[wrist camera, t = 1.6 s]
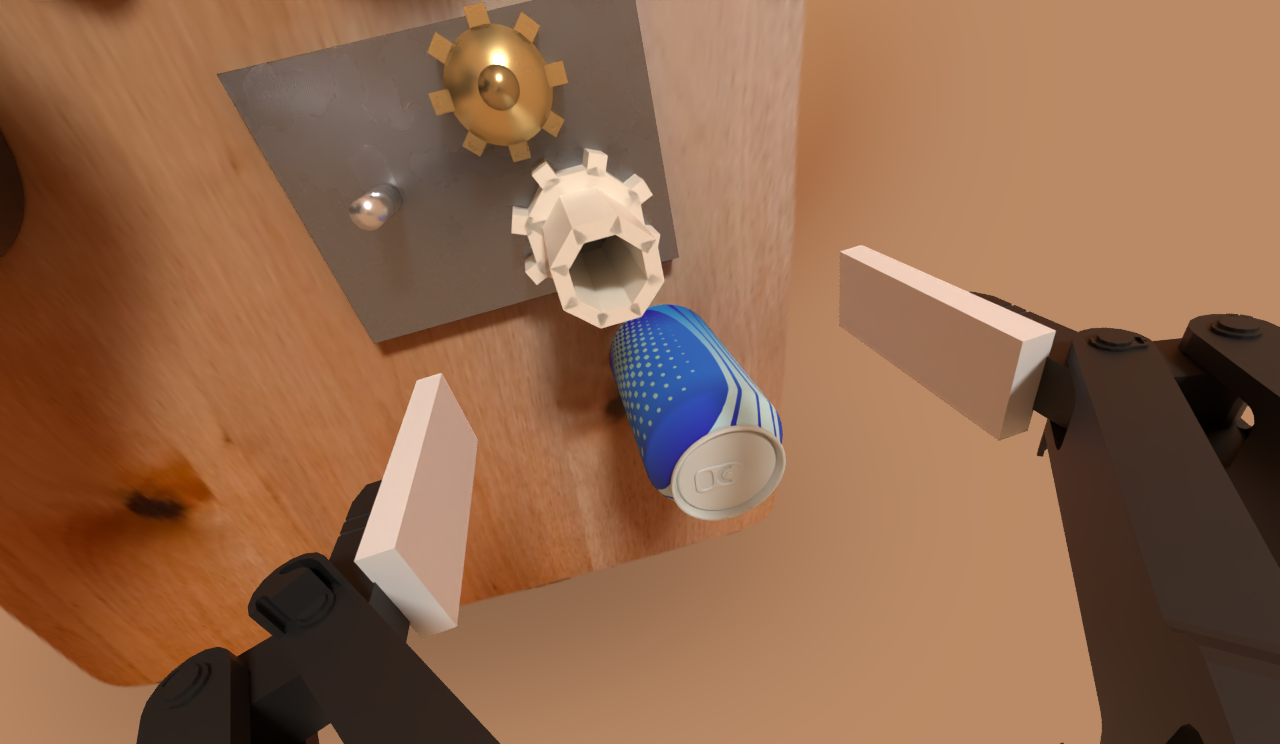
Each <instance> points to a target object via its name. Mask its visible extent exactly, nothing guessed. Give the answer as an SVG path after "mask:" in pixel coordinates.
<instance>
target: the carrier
mask: <svg viewBox="0 0 1280 744" xmlns="http://www.w3.org/2000/svg"><path fill="white" fill-rule="evenodd" d="M463 9H464V12H465V15H466V16H464V17H460V18H456V19H451V20H447V21H443V22H438V23H434V24H430V25H426V26H421V27H417V28H413V29H408V30H404V31H400V32H396V33H391V34H387V35H383V36H379V37H374V38H370V39H366V40H361V41H357V42H353V43H349V44H344V45H340V46H336V47H331V48H327V49H323V50H319V51H314V52H310V53H306V54H301V55H297V56H293V57H289V58H284V59H280V60H276V61H271V62H267V63H263V64H259V65H254V66H250V67H246V68H242V69H237V70H233V71H229V72H224V73H220V74H217V76H218V78H219V79H220V81H221V83H222V84H223V86H224V88H225V90H226V91H227V93H228V95H229V96H230V98H231V100H232V102H233V103H234V105H235V107H236V108H237V110H238V112H239V114H240V115H241V117H242V119H243V120H244V122H245V124H246V126H247V127H248V129H249V131H250V132H251V134H252V136H253V137H254V139H255V141H256V143H257V144H258V146H259V148H260V149H261V151H262V153H263V155H264V156H265V158H266V160H267V161H268V163H269V165H270V167H271V168H272V170H273V172H274V173H275V175H276V177H277V178H278V180H279V182H280V184H281V185H282V187H283V189H284V190H285V192H286V194H287V196H288V197H289V199H290V201H291V202H292V204H293V206H294V208H295V209H296V211H297V213H298V214H299V216H300V218H301V219H302V221H303V223H304V225H305V226H306V228H307V230H308V231H309V233H310V235H311V237H312V238H313V240H314V242H315V243H316V245H317V247H318V249H319V250H320V252H321V254H322V255H323V257H324V259H325V260H326V262H327V264H328V266H329V267H330V269H331V271H332V272H333V274H334V276H335V278H336V279H337V281H338V283H339V284H340V286H341V288H342V290H343V291H344V293H345V295H346V296H347V298H348V300H349V302H350V303H351V305H352V307H353V308H354V310H355V312H356V313H357V315H358V317H359V319H360V320H361V322H362V324H363V325H364V327H365V329H366V331H367V332H368V334H369V336H370V337H371V339H372V341H373V343H374V344H375V343H378V342H382V341H385V340H389V339H392V338H396V337H399V336H403V335H406V334H410V333H414V332H417V331H421V330H424V329H428V328H431V327H435V326H438V325H442V324H445V323H449V322H452V321H456V320H459V319H463V318H467V317H470V316H474V315H477V314H481V313H484V312H488V311H491V310H495V309H498V308H502V307H505V306H509V305H513V304H516V303H520V302H523V301H527V300H530V299H534V298H537V297H541V296H544V295H548V294H551V293H555V292H557V289H556V286H555V283H554V280H553V279H552V278H551V277H549V276H548V277H547V278H545V279H544V280H543V281H542V282H540V283H539V284H538V285H536V284H535V282H534V281H533V280H532V279H531V278H530V277H529V276H528V275H527V274H526V272H525V260H526V259H527V258H528V257H530V256H531V255H532V254H533V250H532V247H531V244H530V242H529V239H528V236H527V235H521V234H513V233H511V232H512V212H513V206H515V207H522V208H528V207H529V205H530V203H531V201H532V199H533V197H534V195H535V193H536V191H537V189H538V187H539V184H538V183H537V182H536V180H535V179H534V178H533V176H532V173H531V169H532V168H534V167H535V166H536V165H537V164H538V163H540V162H541V161H542V160H543V159H546V161H547V162H548V163H549V165H550V166H551V167H552V169H553V170H554V171H559V170H562V169H566V168H570V167H574V166H578V165H581V164H582V161H583V153H584V148H586V149H592V150H597V151H602V152H603V153H605V154H606V155H608V158H607V165H606V172H607V173H609V174H611V175H612V176H614V177H615V178H617V179H618V180H620V181H621V182H625V181H626V180H627V179H628V178H630V177H631V176H632V175H634V174H636V175H637V176H639V177H640V178H642V179H643V180H644V182H645V183H646V185H647V186H648V188H649V189H650V191H651V193H652V194H653V195H652V196H651V197H650V198H648V199H647V200H646V201H645V202H643V203H642V204H641V208H642V213H643V218H644V223H645V225H651V226H652V227H653V228H654V229H655V230H656V231H657V232H658V233H659V234H660V239H659V244H658V250H659V255H660V260H661V262H665V261H668V260H672V259H675V258H679V255H678V249H677V244H676V238H675V232H674V226H673V220H672V214H671V208H670V202H669V196H668V190H667V185H666V179H665V173H664V167H663V161H662V155H661V149H660V143H659V137H658V131H657V126H656V120H655V114H654V108H653V102H652V96H651V90H650V84H649V78H648V72H647V67H646V61H645V55H644V49H643V43H642V37H641V31H640V25H639V19H638V13H637V8H636V2H635V0H533V1H528V2H524V3H520V4H515V5H511V6H507V7H503V8H498V9H494V10H490V11H487V10H486V7H485V5H484V2H482V3H477V4H473V5H469V6H464V7H463ZM606 238H607V237H605V238H601V239H598V240H594V241H591V242H587V243H584V244H583V246H582V248H581V250H580V251H579V253H583V252H587V251H591V250H594V249H598V248H601V247H602V245H603V244H604V242H605V240H606Z"/></svg>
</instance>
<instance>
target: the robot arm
mask: <svg viewBox="0 0 1280 744" xmlns="http://www.w3.org/2000/svg"><path fill="white" fill-rule="evenodd" d="M22 213H23V195H22V187H21V182H20V178H19V174H18V171H17V168H16V165H15V162H14V160H13V157H12V155H11V153H10V151H9V148H8V146H7V144H6V143H5V141H4V139H3V137H2V135H1V133H0V257H1V256H2V255H3V254H4V253H5V252H6V251H7V249H8V248H9V247H10V245H11V244H12V243H13V241H14V239H15V237H16V235H17V233H18V230H19V228H20V224H21V220H22ZM840 326H841V327H842V328H844V329H845V330H846V331H848V332H849V333H850V334H852V335H853V336H854V337H856V338H857V339H859V340H860V341H861V342H863V343H864V344H866V345H867V346H868V347H870V348H871V349H873V350H874V351H875V352H877V353H878V354H879V355H881V356H882V357H884V358H885V359H886V360H888V361H889V362H890V363H892V364H893V365H895V366H896V367H897V368H899V369H900V370H902V371H903V372H904V373H906V374H907V375H909V376H910V377H911V378H913V379H914V380H915V381H917V382H918V383H920V384H921V385H922V386H924V387H925V388H927V389H928V390H929V391H931V392H932V393H933V394H935V395H936V396H937V397H939V398H940V399H942V400H944V402H946V403H947V404H949V405H950V406H951V407H953V408H954V409H956V410H957V411H958V412H960V413H961V414H962V415H964V416H965V417H967V418H968V419H969V420H971V421H972V422H974V423H975V424H976V425H978V426H979V427H981V428H982V429H983V430H985V431H986V432H987V433H989V434H991V436H993V437H994V438H996V439H997V440H1002V439H1005V438H1008V437H1011V436H1014V435H1016V434H1019V433H1022V432H1025V431H1027V430H1028V427H1029V424H1030V420H1031V417H1032V413H1033V410H1035V411H1036V412H1038V413H1040V414H1041V415H1043V416H1044V417H1046V418H1048V419H1047V423H1046V425H1045V429H1044V432H1043V435H1042V438H1041V442H1040V445H1039V448H1038V453H1037V456H1043V454H1044V451H1045V450H1046V449H1048V453H1049V458H1050V463H1051V468H1052V473H1053V477H1054V482H1055V487H1056V492H1057V497H1058V502H1059V507H1060V512H1061V517H1062V522H1063V527H1064V532H1065V537H1066V542H1067V547H1068V552H1069V557H1070V562H1071V567H1072V572H1073V577H1074V582H1075V587H1076V592H1077V596H1078V601H1079V606H1080V611H1081V616H1082V621H1083V626H1084V631H1085V636H1086V641H1087V646H1088V651H1089V656H1090V661H1091V666H1092V671H1093V676H1094V681H1095V685H1096V691H1097V696H1098V701H1099V705H1100V711H1101V718H1102V734H1101V742H1100V744H1280V327H1278V326H1276V325H1274V324H1272V323H1269V322H1267V321H1264V320H1260V319H1256V318H1253V317H1251V316H1246V315H1240V316H1239V315H1238V314H1211V315H1204V316H1199V317H1196V318H1194V319H1192V320H1190V322H1189V324H1188V327H1187V328H1186V331H1185V333H1184V335H1183V337H1182V338H1179V339H1171V340H1160V341H1151V340H1150V339H1148V338H1146V337H1144V336H1142V335H1140V334H1138V333H1134V332H1130V331H1126V330H1122V329H1113V328H1091V329H1087V330H1083V331H1080V332H1076V331H1074V330H1072V329H1069V328H1067V327H1065V326H1062V325H1060V324H1057V323H1055V322H1053V321H1051V320H1048V319H1046V318H1044V317H1041V316H1039V315H1036V314H1034V313H1032V312H1026V310H1025V309H1022V308H1020V307H1018V306H1015V305H1014V306H1012V305H1011V303H1008V302H1006V301H1004V300H1001V299H999V298H997V297H994V296H991V295H986V294H981V293H976V292H967V291H965V290H963V289H960V288H958V287H955V286H954V285H951V284H949V283H947V282H944V281H942V280H940V279H938V278H935V277H933V276H931V275H929V274H926V273H924V272H922V271H919V270H917V269H915V268H913V267H911V266H908V265H906V264H904V263H901V262H899V261H897V260H895V259H892V258H890V257H888V256H885V255H883V254H881V253H879V252H876V251H874V250H872V249H870V248H867V247H865V246H863V245H860V246H857V247H853V248H850V249H847V250H844V251H840ZM1247 406H1249V407H1250V408H1251V410H1252V412H1253V415H1254V425H1253V426H1250V425H1248V424H1247V423H1246V422H1245V421H1244V420H1242V419H1241V416H1242V414H1243V412H1244V411H1245V409H1246V407H1247ZM477 444H478V439H477V437H476V436H475V434H474V432H473V430H472V428H471V426H470V424H469V423H468V421H467V419H466V417H465V415H464V413H463V411H462V409H461V408H460V406H459V404H458V402H457V400H456V398H455V396H454V395H453V393H452V391H451V389H450V387H449V385H448V383H447V382H446V380H445V378H444V376H443V374H442V373H440V374H436V375H433V376H430V377H427V378H423V379H420V380H417V382H416V385H415V388H414V391H413V393H412V396H411V399H410V402H409V405H408V408H407V411H406V414H405V416H404V419H403V422H402V425H401V428H400V431H399V434H398V436H397V439H396V442H395V445H394V448H393V451H392V454H391V457H390V459H389V462H388V465H387V468H386V471H385V474H384V477H383V480H380V481H377V482H374V483H370V484H367V485H366V486H365V487H364V489H363V490H362V491H361V492H360V494H359V495H358V496H357V497H356V498H355V500H354V501H353V502H352V505H351V507H350V510H349V512H348V515H347V517H346V522H345V523H344V525H343V527H342V530H341V532H340V534H341V536H340V537H338V539H337V542H336V544H335V547H334V549H333V552H332V554H331V557H330V559H329V560H328V559H327V558H326V557H325V556H324V555H322V554H319V553H317V552H316V553H306V554H303V555H301V556H298V557H296V558H293V559H291V560H289V561H288V562H286V563H285V564H283V565H281V566H280V567H278V568H277V569H276V570H274V571H273V572H272V573H271V574H270V575H269V576H268V577H267V578H266V579H264V580H263V581H262V583H261V584H260V585H259V587H258V588H257V589H256V591H255V592H254V593H253V595H252V597H251V600H250V602H249V604H248V613H249V616H250V617H251V618H252V619H253V620H254V621H256V622H257V623H258V624H259V625H260V626H262V627H263V628H264V629H265V630H266V631H268V632H269V633H270V634H271V635H272V636H271V637H270V638H268V639H266V640H264V641H263V642H261V643H259V644H258V645H256V646H254V647H253V648H251V649H249V650H247V651H246V652H244V653H242V654H241V655H239V656H235V655H234V654H233V653H231V652H230V651H229V650H227V649H224V648H221V647H215V648H211V649H206V650H204V651H202V652H200V653H198V654H196V655H194V656H192V657H190V658H189V659H188V660H186V661H185V662H184V663H182V664H181V665H180V666H178V667H177V668H176V669H174V670H173V671H172V672H171V673H170V674H169V675H168V676H167V677H166V678H165V679H164V680H163V681H162V682H161V683H160V684H159V685H158V687H157V688H156V689H155V691H154V692H153V694H152V695H151V697H150V698H149V699H148V701H147V702H146V705H145V707H144V710H143V713H142V715H141V719H140V725H139V731H138V738H137V744H319V739H318V731H319V730H321V729H322V728H324V727H325V726H327V725H328V724H330V723H331V724H332V725H333V727H334V729H335V730H336V732H337V733H338V735H339V737H340V738H341V740H342V741H343V743H344V744H500V743H499V742H498V741H497V740H496V739H495V738H494V737H493V736H492V734H491V733H490V732H489V731H488V730H487V729H486V728H485V727H484V726H483V725H482V724H481V723H480V722H479V721H478V719H477V718H476V717H475V716H474V715H473V714H472V713H471V712H470V711H469V710H468V709H467V708H466V707H465V706H464V704H463V703H462V702H461V701H460V700H459V699H458V698H457V697H456V696H455V695H454V694H453V693H452V692H451V691H450V689H448V687H447V686H446V685H445V684H444V683H443V682H442V681H441V680H440V679H439V678H438V677H437V676H436V675H435V674H434V673H433V672H432V670H431V669H430V668H429V667H428V666H427V665H426V664H425V663H424V662H423V661H422V660H421V658H420V657H419V656H418V655H417V654H416V653H415V652H414V651H413V650H412V649H411V648H410V647H409V646H408V645H407V644H406V640H407V635H408V630H409V625H411V626H412V627H413V628H414V630H415V631H416V632H417V633H418V634H419V635H420V637H421V638H425V637H428V636H431V635H434V634H437V633H439V632H442V631H445V630H448V629H451V628H454V627H457V620H458V611H459V603H460V594H461V585H462V576H463V567H464V558H465V550H466V541H467V532H468V523H469V514H470V506H471V497H472V488H473V479H474V470H475V461H476V453H477ZM1061 744H1064V743H1061Z"/></svg>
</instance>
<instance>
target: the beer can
mask: <svg viewBox="0 0 1280 744" xmlns="http://www.w3.org/2000/svg"><path fill="white" fill-rule="evenodd" d="M610 366H611V370H612V373H613V376H614V379H615V382H616V384H617V387H618V390H619V393H620V396H621V399H622V402H623V405H624V408H625V411H626V414H627V417H628V420H629V423H630V425H631V428H632V431H633V434H634V437H635V440H636V443H637V446H638V449H639V452H640V455H641V458H642V461H643V464H644V466H645V469H646V472H647V475H648V477H649V479H650V481H651V482H652V484H653V485H654V487H655V488H656V489H657V490H658V491H659V492H660V493H661V494H663V495H664V496H665V497H667V498H669V499H671V500H673V501H675V503H676V504H677V506H678V507H679V508H680V509H681V510H682V511H683V512H685V513H686V514H688V515H690V516H692V517H694V518H697V519H702V520H724V519H729V518H733V517H736V516H739V515H741V514H744V513H746V512H748V511H750V510H751V509H753V508H755V507H756V506H758V505H759V504H761V503H762V502H763V501H764V500H765V499H766V498H768V497H769V496H770V495H771V493H772V492H773V491H774V490H775V489H776V487H777V486H778V484H779V482H780V481H781V479H782V476H783V474H784V470H785V465H786V457H785V452H784V448H783V446H782V436H783V434H782V425H781V421H780V417H779V415H778V413H777V411H776V410H775V408H774V407H773V405H772V404H771V403H770V402H769V400H768V399H767V398H766V397H765V395H764V394H763V393H762V392H761V391H760V389H759V388H758V387H757V386H756V384H755V383H754V382H753V381H752V380H751V378H750V377H749V376H748V375H747V373H746V372H745V371H744V370H743V369H742V367H741V366H740V365H739V364H738V362H737V361H736V360H735V359H734V358H733V356H732V355H731V354H730V353H729V351H728V350H727V349H726V348H725V347H724V345H723V344H722V343H721V342H720V340H719V339H718V338H717V337H716V336H715V334H714V333H713V332H712V331H711V330H710V328H709V327H708V326H707V325H706V323H705V322H704V321H703V320H702V319H701V318H700V317H699V316H698V315H697V314H696V313H695V312H693V311H691V310H690V309H687V308H685V307H682V306H678V305H672V304H662V305H655V306H651V307H648V308H647V309H646V311H645V312H644V314H643V315H642V317H639V318H636V319H632V320H629V321H626V322H625V323H624V324H623V325H622V326H621V327H620V329H619V330H618V332H617V333H616V335H615V337H614V339H613V342H612V345H611V349H610Z"/></svg>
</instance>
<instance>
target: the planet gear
mask: <svg viewBox="0 0 1280 744" xmlns="http://www.w3.org/2000/svg"><path fill="white" fill-rule="evenodd" d="M607 158H608V155H606V154H605V153H603V152H602V151H597V150H592V149H586V148H584V153H583V161H582V164H581V165H578V166H574V167H570V168H566V169H562V170H559V171H554V170H553V169H552V167H551V166H550V165H549V163H548V162H547V161H546V159H543V160H542V161H541V162H540V163H538V164H537V165H536V166H535V167H534V168H532V169H531V173H532V176H533V178H534V179H535V180H536V182H537V183H538V184H539V187H538V189H537V191H536V193H535V195H534V197H533V199H532V201H531V203H530V205H529V207H528V208H522V207H515V206H513V212H512V232H511V233H513V234H521V235H527V236H528V239H529V242H530V244H531V247H532V250H533V254H532V255H531V256H530V257H528V258H527V259H526V260H525V272H526V274H527V275H528V276H529V277H530V278H531V279H532V280H533V281H534V282H535V284H536V285H538V284H539V283H540V282H542V281H543V280H544V279H545V278H547V277H548V276H549V277H551V278H552V279H553V280H554V283H555V286H556V289H557V292H558V295H559V298H560V301H561V305H562V308H563V310H564V311H566V312H568V313H570V314H572V315H574V316H576V317H578V318H580V319H582V320H584V321H586V322H588V323H590V324H592V325H594V326H597V327H599V328H605V327H608V326H611V325H615V324H618V323H622V322H625V321H629V320H632V319H636V318H639V317H642V315H643V314H644V312H645V311H646V309H647V308H648V306H649V305H650V303H651V301H652V300H653V298H654V297H655V295H656V294H657V292H658V291H659V289H660V288H661V286H662V284H663V283H664V276H663V271H662V266H661V260H660V255H659V250H658V244H659V239H660V234H659V233H658V232H657V231H656V230H655V229H654V228H653V227H652V226H651V225H645V223H644V218H643V213H642V208H641V204H642V203H643V202H645V201H646V200H647V199H648V198H650V197H651V196H652V195H653V194H652V193H651V191H650V189H649V188H648V186H647V185H646V183H645V182H644V180H643V179H642V178H640V177H639V176H637V175H636V174H634V175H632V176H631V177H630V178H628V179H627V180H626V181H625V182H621V181H620V180H618V179H617V178H615V177H614V176H612V175H611V174H609V173H607V172H606V165H607ZM605 237H607V238H606V240H605V242H604V244H603V245H602V247H601V248H598V249H594V250H591V251H587V252H583V253H579V251H580V250H581V248H582V246H583V244H584V243H587V242H591V241H594V240H598V239H601V238H605Z"/></svg>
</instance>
